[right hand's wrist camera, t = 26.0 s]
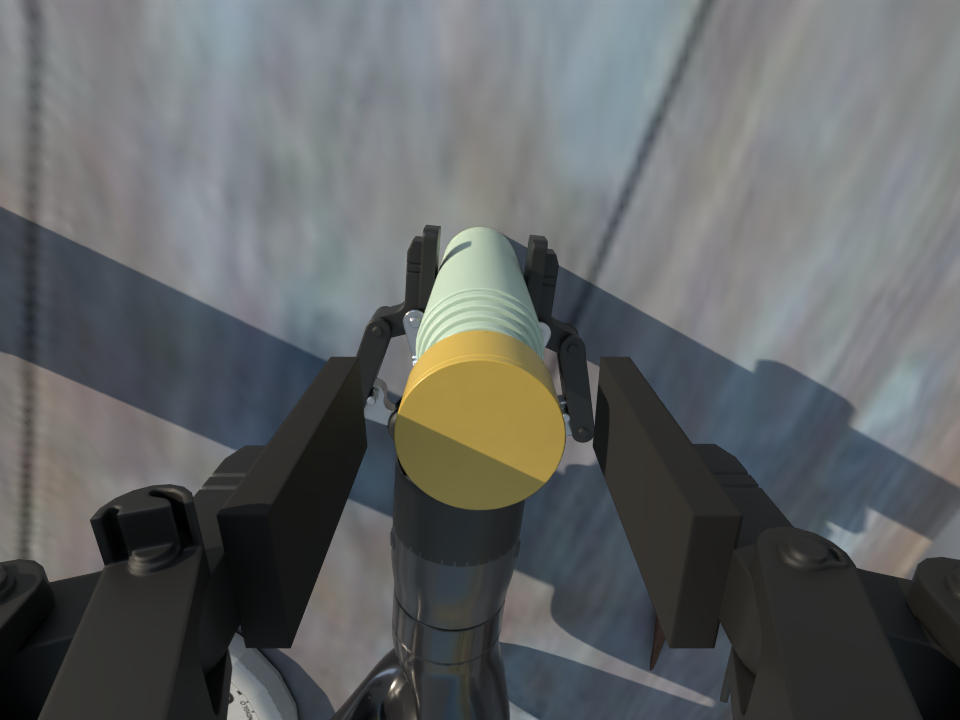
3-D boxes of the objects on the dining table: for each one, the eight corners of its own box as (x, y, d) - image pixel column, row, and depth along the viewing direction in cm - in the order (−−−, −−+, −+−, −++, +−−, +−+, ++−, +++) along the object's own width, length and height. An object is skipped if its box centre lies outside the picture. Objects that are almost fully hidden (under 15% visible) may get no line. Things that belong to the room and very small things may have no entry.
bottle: (449, 221, 31) (402, 327, 12) (523, 233, 31) (586, 356, 13) (438, 293, 33) (383, 484, 14) (509, 305, 33) (547, 507, 14)
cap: (383, 431, 15) (368, 474, 13) (441, 304, 14) (435, 330, 12) (513, 483, 16) (518, 532, 14) (581, 367, 14) (598, 401, 12)
